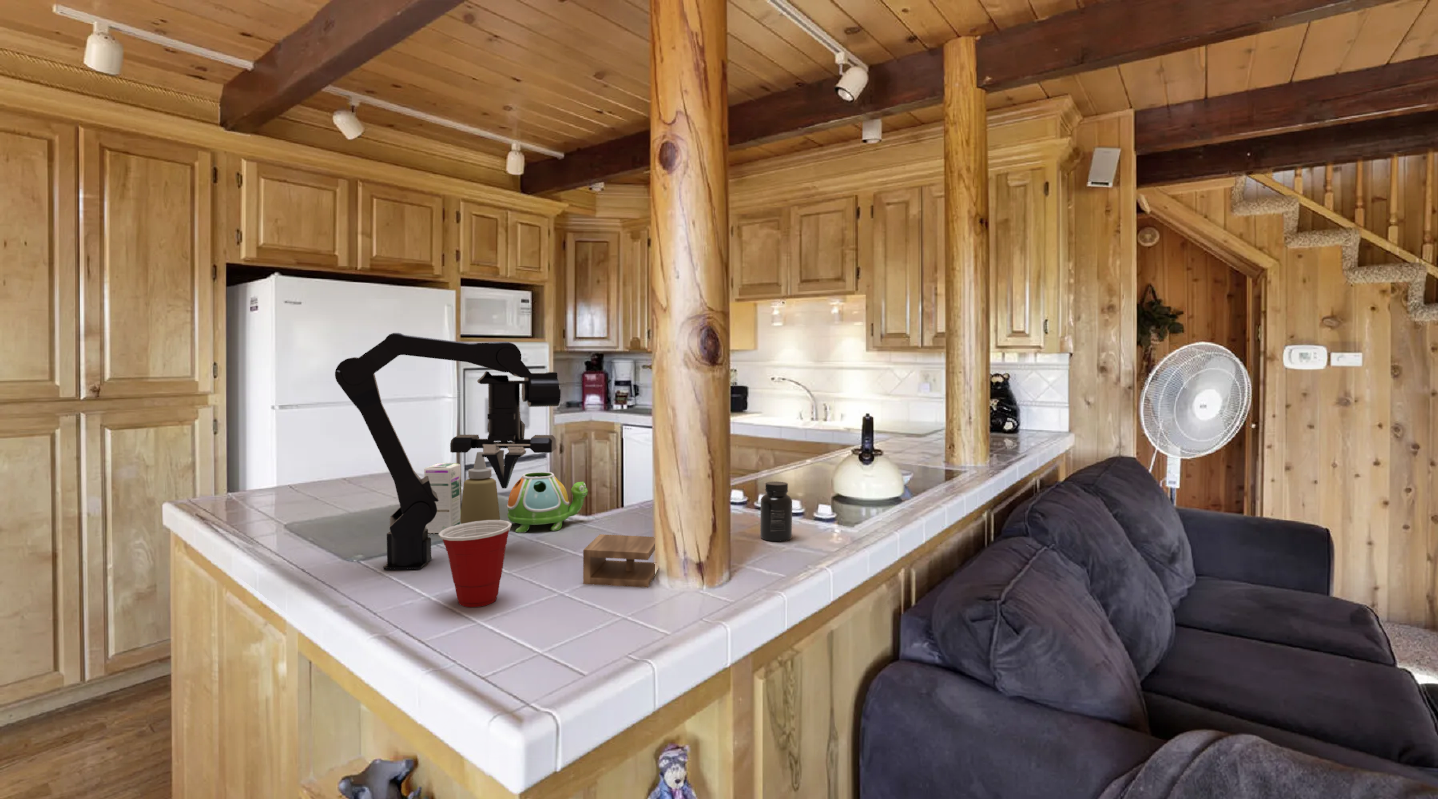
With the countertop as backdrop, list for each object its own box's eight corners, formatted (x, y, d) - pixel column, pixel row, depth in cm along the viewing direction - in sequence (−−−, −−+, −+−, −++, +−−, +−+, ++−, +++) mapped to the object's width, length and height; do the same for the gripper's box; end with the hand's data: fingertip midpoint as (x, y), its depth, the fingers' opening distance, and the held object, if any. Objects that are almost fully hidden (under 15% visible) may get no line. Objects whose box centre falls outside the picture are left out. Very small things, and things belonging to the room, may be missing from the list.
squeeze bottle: (487, 542, 138) (486, 456, 137) (451, 540, 140) (451, 454, 139) (507, 532, 146) (507, 450, 145) (473, 530, 148) (473, 448, 147)
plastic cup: (456, 587, 112) (456, 516, 111) (521, 589, 112) (521, 518, 111) (426, 612, 101) (425, 534, 100) (497, 614, 101) (497, 536, 100)
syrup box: (452, 534, 144) (451, 467, 143) (424, 533, 144) (423, 466, 143) (462, 527, 150) (461, 462, 149) (436, 526, 150) (435, 462, 149)
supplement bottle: (797, 537, 147) (798, 482, 146) (782, 544, 141) (784, 487, 140) (769, 532, 150) (770, 479, 150) (754, 538, 145) (755, 483, 144)
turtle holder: (594, 528, 152) (594, 475, 151) (511, 536, 144) (510, 480, 143) (581, 515, 163) (582, 466, 162) (503, 522, 155) (503, 471, 154)
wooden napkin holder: (583, 549, 115) (648, 553, 114) (599, 534, 125) (659, 537, 123) (583, 584, 115) (647, 587, 114) (599, 566, 125) (659, 569, 124)
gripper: (559, 404, 138) (560, 480, 139) (466, 403, 136) (466, 480, 137) (551, 409, 127) (551, 491, 128) (448, 408, 125) (449, 491, 126)
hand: (504, 488), depth 130 cm, fingers closed
